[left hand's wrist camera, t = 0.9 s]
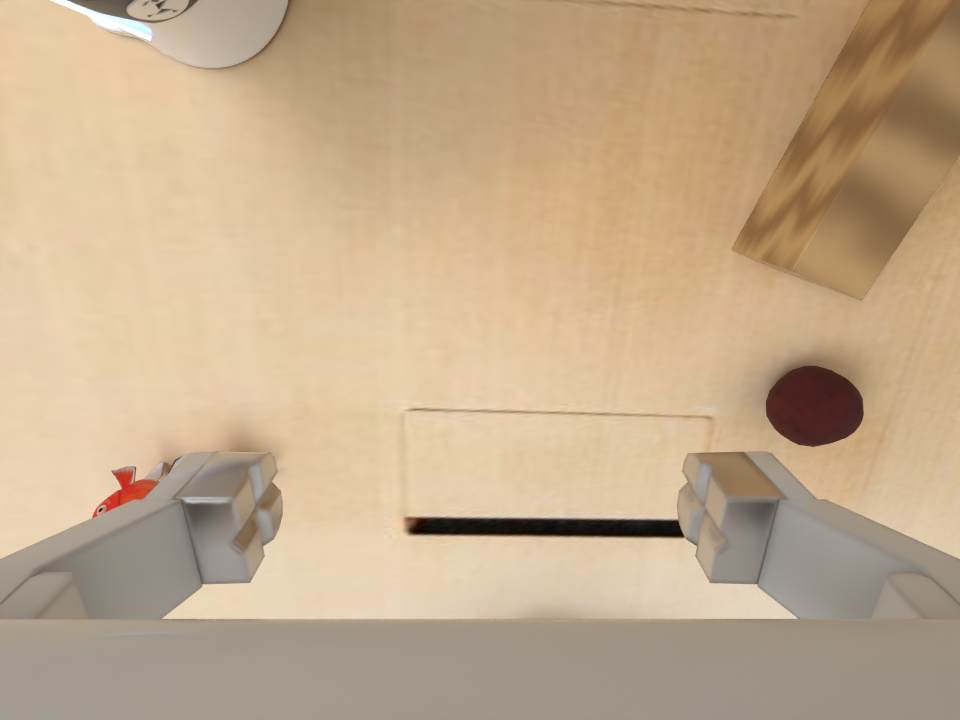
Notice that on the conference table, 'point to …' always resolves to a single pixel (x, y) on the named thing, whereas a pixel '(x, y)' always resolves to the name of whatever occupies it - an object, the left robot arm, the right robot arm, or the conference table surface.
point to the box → (865, 150)
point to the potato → (814, 406)
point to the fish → (132, 486)
